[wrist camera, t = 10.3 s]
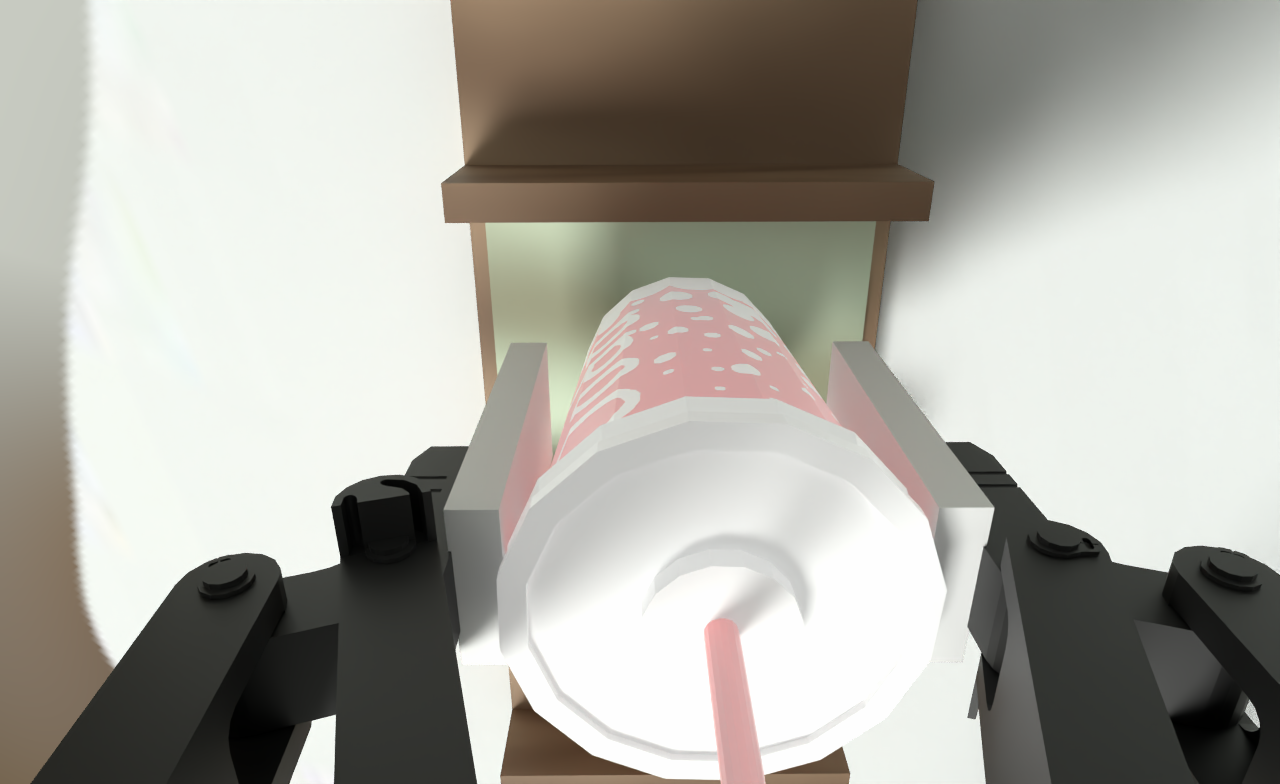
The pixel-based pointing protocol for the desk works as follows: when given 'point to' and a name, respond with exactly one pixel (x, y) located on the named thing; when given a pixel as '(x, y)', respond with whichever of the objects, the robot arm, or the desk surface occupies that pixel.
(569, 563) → the beverage cup
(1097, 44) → the desk surface
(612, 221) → the slot rack
